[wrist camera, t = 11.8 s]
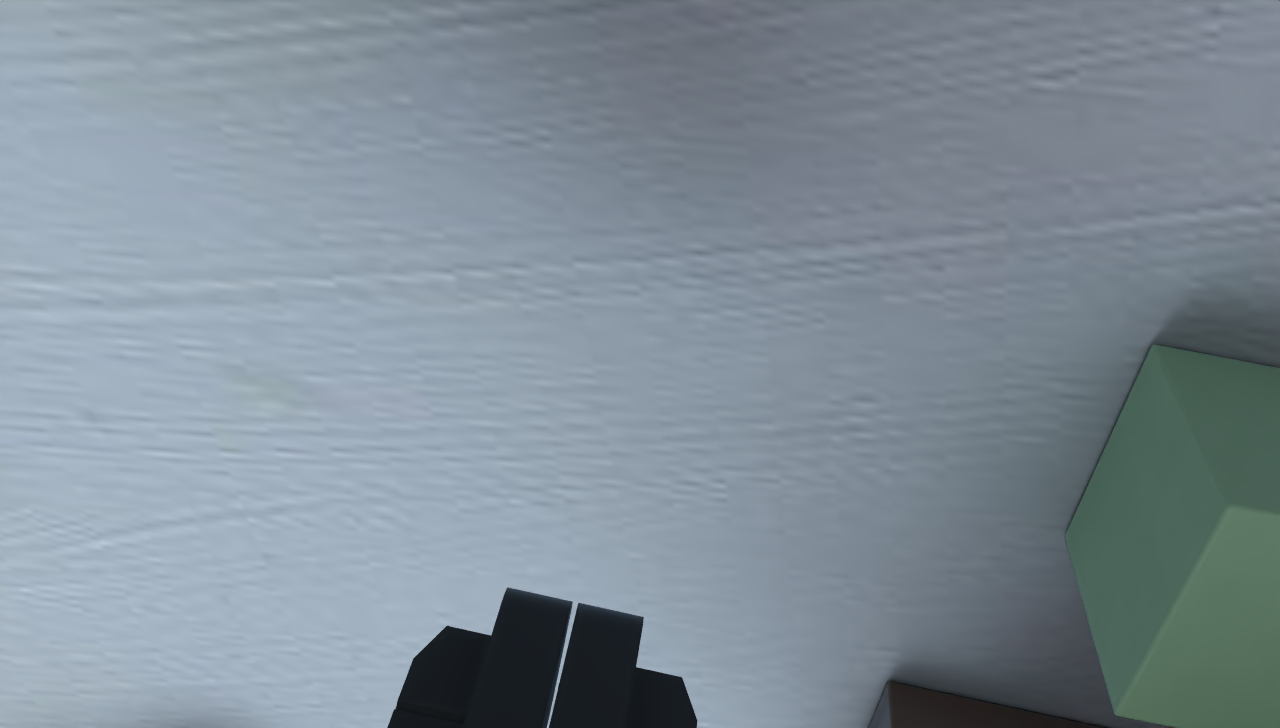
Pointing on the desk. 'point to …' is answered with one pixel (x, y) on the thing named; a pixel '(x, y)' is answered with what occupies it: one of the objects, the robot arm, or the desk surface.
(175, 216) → the desk surface
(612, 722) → the robot arm
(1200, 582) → the sage block
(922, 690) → the walnut upright
